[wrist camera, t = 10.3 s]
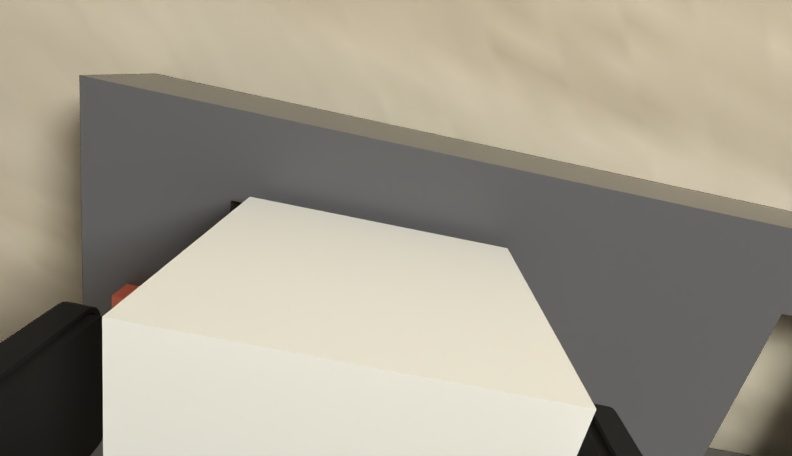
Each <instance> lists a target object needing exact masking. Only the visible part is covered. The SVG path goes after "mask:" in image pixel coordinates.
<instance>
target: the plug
mask: <svg viewBox="0 0 792 456" xmlns="http://www.w3.org/2000/svg"><path fill="white" fill-rule="evenodd" d="M102 370H103V456H577V454H578V452H579V449H580V447H581V445H582V442H583V440H584V438H585V435H586V433H587V431H588V428H589V426H590V424H591V421H592V419H593V416H594V414H595V412H596V407H595V405H594V404H593V402H592V400H591V398H590V396H589V395H588V393H587V391H586V389H585V387H584V386H583V384H582V382H581V380H580V378H579V377H578V375H577V373H576V371H575V369H574V368H573V366H572V364H571V362H570V360H569V358H568V357H567V355H566V353H565V351H564V349H563V348H562V346H561V344H560V342H559V340H558V339H557V337H556V335H555V333H554V331H553V330H552V328H551V326H550V324H549V322H548V321H547V319H546V317H545V315H544V313H543V311H542V310H541V308H540V306H539V304H538V302H537V301H536V299H535V297H534V295H533V293H532V292H531V290H530V288H529V286H528V284H527V283H526V281H525V279H524V277H523V275H522V274H521V272H520V270H519V268H518V266H517V265H516V263H515V261H514V259H513V257H512V255H511V254H510V252H509V250H508V248H504V247H499V246H494V245H489V244H484V243H479V242H474V241H469V240H464V239H459V238H454V237H449V236H444V235H439V234H434V233H429V232H424V231H419V230H414V229H409V228H404V227H399V226H394V225H389V224H384V223H379V222H374V221H369V220H364V219H359V218H354V217H349V216H344V215H339V214H334V213H329V212H324V211H319V210H314V209H309V208H304V207H299V206H294V205H289V204H284V203H279V202H274V201H269V200H264V199H259V198H254V197H249V198H248V199H246V200H245V201H244V202H243V203H242V204H240V205H239V206H238V207H237V208H235V209H234V210H233V211H232V212H230V213H229V214H228V215H227V216H226V217H224V218H223V219H222V220H221V221H219V222H218V223H217V224H216V225H214V226H213V227H212V228H211V229H210V230H208V231H207V232H206V233H205V234H203V235H202V236H201V237H200V238H198V239H197V240H196V241H195V242H194V243H192V244H191V245H190V246H189V247H187V248H186V249H185V250H184V251H182V252H181V253H180V254H179V255H178V256H176V257H175V258H174V259H173V260H171V261H170V262H169V263H168V264H166V265H165V266H164V267H163V268H162V269H160V270H159V271H158V272H157V273H155V274H154V275H153V276H152V277H150V278H149V279H148V280H147V281H146V282H144V283H143V284H142V285H141V286H139V287H138V288H137V289H136V290H134V291H133V292H132V293H131V294H130V295H128V296H127V297H126V298H125V299H123V300H122V301H121V302H120V303H119V304H117V305H116V306H115V307H114V308H112V309H111V310H110V311H109V312H107V313H106V314H105V315H104V316H103V317H102Z"/></svg>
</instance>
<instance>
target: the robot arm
mask: <svg viewBox="0 0 792 456" xmlns="http://www.w3.org/2000/svg"><path fill="white" fill-rule="evenodd" d="M102 317H103V316H100V312H99V310H98V309H97V308H96V307H92V306H87V305H81V304H76V303H71V302H62V303H60V304H58V305H56V306H55V307H53V308H52V309H50V310H49V311H47V312H46V313H44V314H43V315H41V316H40V317H38V318H37V319H35V320H34V321H33V322H31V323H30V324H28V325H27V326H25V327H24V328H22V329H21V330H19V331H18V332H16V333H15V334H13V335H12V336H10V337H9V338H7V339H6V340H4V341H3V342H1V343H0V456H90V455H91V454H92V453H93V452H94V451H95V449H96V448H97V447H98V445H99V444H100V443H101V441H102V439H103V370H102ZM593 404H594V403H593ZM594 405H595V407H596V412H595V414H594V416H593V419H592V421H591V424H590V426H589V428H588V431H587V433H586V435H585V438H584V440H583V442H582V445H581V447H580V449H579V452H578V454H577V456H643V455H642V454H641V452H640V450H639V449H638V447H637V445H636V444H635V442H634V440H633V439H632V437H631V435H630V434H629V432H628V431H627V429H626V427H625V426H624V424H623V422H622V421H621V419H620V417H619V416H618V414H617V412H616V411H615V410H614V409H613V408H612V407H610V406H604V405H599V404H594Z"/></svg>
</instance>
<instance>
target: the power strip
mask: <svg viewBox="0 0 792 456" xmlns="http://www.w3.org/2000/svg"><path fill="white" fill-rule="evenodd" d="M79 79H80V145H81V211H82V277H83V305H87V306H92V307H96V308H97V309H98V310H99V312H100V316H104V315H105V314H106V313H107V312H109V311H110V310H111V309H112V308H114V307H115V306H116V305H117V304H119V303H120V302H121V301H122V300H123V299H125V298H126V297H127V296H128V295H130V294H131V293H132V292H133V291H134V290H136V289H137V288H138V287H139V286H141V285H142V284H143V283H144V282H146V281H147V280H148V279H149V278H150V277H152V276H153V275H154V274H155V273H157V272H158V271H159V270H160V269H162V268H163V267H164V266H165V265H166V264H168V263H169V262H170V261H171V260H173V259H174V258H175V257H176V256H178V255H179V254H180V253H181V252H182V251H184V250H185V249H186V248H187V247H189V246H190V245H191V244H192V243H194V242H195V241H196V240H197V239H198V238H200V237H201V236H202V235H203V234H205V233H206V232H207V231H208V230H210V229H211V228H212V227H213V226H214V225H216V224H217V223H218V222H219V221H221V220H222V219H223V218H224V217H226V216H227V215H228V214H229V213H230V212H232V211H233V210H234V209H235V208H237V207H238V206H239V205H240V204H242V203H243V202H244V201H245V200H246V199H248V198H249V197H254V198H259V199H264V200H269V201H274V202H279V203H284V204H289V205H294V206H299V207H304V208H309V209H314V210H319V211H324V212H329V213H334V214H339V215H344V216H349V217H354V218H359V219H364V220H369V221H374V222H379V223H384V224H389V225H394V226H399V227H404V228H409V229H414V230H419V231H424V232H429V233H434V234H439V235H444V236H449V237H454V238H459V239H464V240H469V241H474V242H479V243H484V244H489V245H494V246H499V247H504V248H508V250H509V252H510V254H511V255H512V257H513V259H514V261H515V263H516V265H517V266H518V268H519V270H520V272H521V274H522V275H523V277H524V279H525V281H526V283H527V284H528V286H529V288H530V290H531V292H532V293H533V295H534V297H535V299H536V301H537V302H538V304H539V306H540V308H541V310H542V311H543V313H544V315H545V317H546V319H547V321H548V322H549V324H550V326H551V328H552V330H553V331H554V333H555V335H556V337H557V339H558V340H559V342H560V344H561V346H562V348H563V349H564V351H565V353H566V355H567V357H568V358H569V360H570V362H571V364H572V366H573V368H574V369H575V371H576V373H577V375H578V377H579V378H580V380H581V382H582V384H583V386H584V387H585V389H586V391H587V393H588V395H589V396H590V398H591V400H592V402H593V403H594V404H599V405H604V406H610V407H612V408H613V409H614V410H615V411H616V412H617V414H618V416H619V417H620V419H621V421H622V422H623V424H624V426H625V427H626V429H627V431H628V432H629V434H630V435H631V437H632V439H633V440H634V442H635V444H636V445H637V447H638V449H639V450H640V452H641V454H642V455H643V456H748V455H743V454H738V453H733V452H728V451H722V450H717V449H712V448H708V447H709V445H710V443H711V442H712V440H713V438H714V436H715V434H716V433H717V431H718V429H719V427H720V425H721V423H722V422H723V420H724V418H725V416H726V414H727V413H728V411H729V409H730V407H731V405H732V404H733V402H734V400H735V398H736V396H737V394H738V393H739V391H740V389H741V387H742V385H743V384H744V382H745V380H746V378H747V376H748V374H749V373H750V371H751V369H752V367H753V365H754V364H755V362H756V360H757V358H758V356H759V354H760V353H761V351H762V349H763V347H764V345H765V344H766V342H767V340H768V338H769V336H770V335H771V333H772V331H773V329H774V327H775V325H776V324H777V322H778V320H779V318H780V316H781V315H782V314H785V315H790V316H792V212H791V211H787V210H782V209H777V208H773V207H768V206H763V205H759V204H754V203H750V202H745V201H740V200H736V199H731V198H727V197H722V196H717V195H713V194H708V193H704V192H699V191H694V190H690V189H685V188H680V187H676V186H671V185H667V184H662V183H657V182H653V181H648V180H644V179H639V178H634V177H630V176H625V175H621V174H616V173H611V172H607V171H602V170H597V169H593V168H588V167H584V166H579V165H574V164H570V163H565V162H561V161H556V160H551V159H547V158H542V157H537V156H533V155H528V154H524V153H519V152H514V151H510V150H505V149H501V148H496V147H491V146H487V145H482V144H478V143H473V142H468V141H464V140H459V139H454V138H450V137H445V136H441V135H436V134H431V133H427V132H422V131H418V130H413V129H408V128H404V127H399V126H395V125H390V124H385V123H381V122H376V121H371V120H367V119H362V118H358V117H353V116H348V115H344V114H339V113H335V112H330V111H325V110H321V109H316V108H311V107H307V106H302V105H298V104H293V103H288V102H284V101H279V100H275V99H270V98H265V97H261V96H256V95H252V94H247V93H242V92H238V91H233V90H228V89H224V88H219V87H215V86H210V85H205V84H201V83H196V82H192V81H187V80H182V79H178V78H173V77H169V76H164V75H159V74H112V75H79ZM90 456H103V439H102V441H101V443H100V444H99V445H98V447H97V448H96V449H95V451H94V452H93V453H92V454H91V455H90Z"/></svg>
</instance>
